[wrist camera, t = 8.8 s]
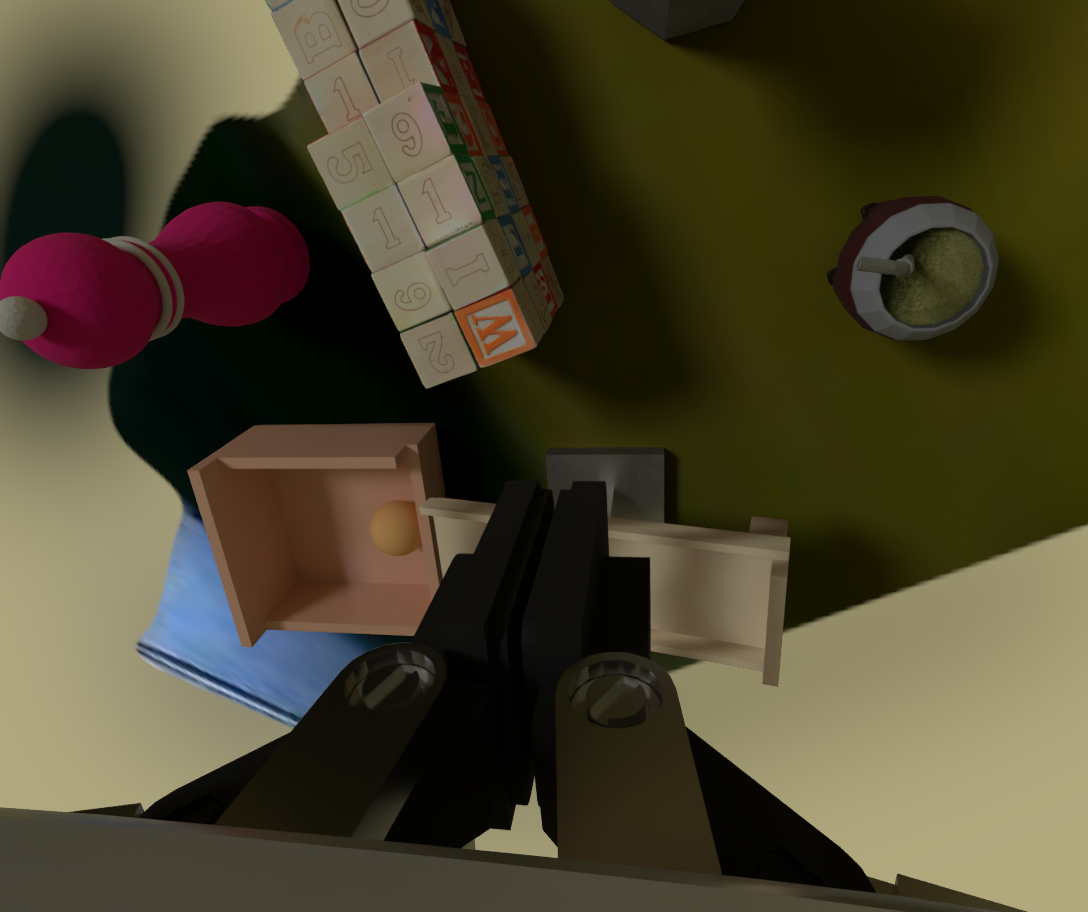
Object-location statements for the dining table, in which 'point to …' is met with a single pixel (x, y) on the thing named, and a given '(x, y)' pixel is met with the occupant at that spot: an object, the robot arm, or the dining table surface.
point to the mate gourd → (915, 267)
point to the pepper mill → (150, 283)
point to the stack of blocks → (423, 179)
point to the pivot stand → (614, 477)
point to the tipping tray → (680, 581)
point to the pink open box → (320, 526)
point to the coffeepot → (679, 14)
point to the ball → (396, 528)
